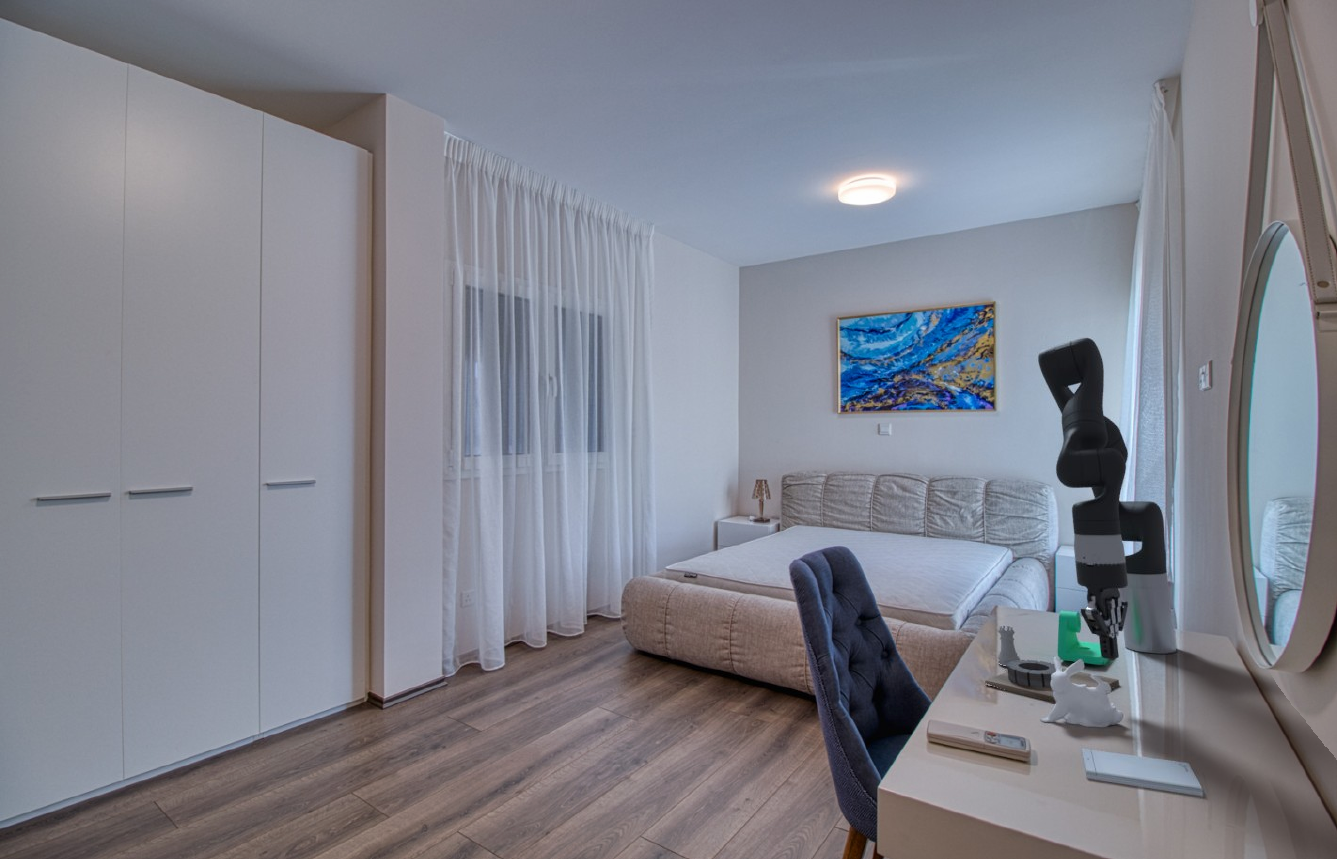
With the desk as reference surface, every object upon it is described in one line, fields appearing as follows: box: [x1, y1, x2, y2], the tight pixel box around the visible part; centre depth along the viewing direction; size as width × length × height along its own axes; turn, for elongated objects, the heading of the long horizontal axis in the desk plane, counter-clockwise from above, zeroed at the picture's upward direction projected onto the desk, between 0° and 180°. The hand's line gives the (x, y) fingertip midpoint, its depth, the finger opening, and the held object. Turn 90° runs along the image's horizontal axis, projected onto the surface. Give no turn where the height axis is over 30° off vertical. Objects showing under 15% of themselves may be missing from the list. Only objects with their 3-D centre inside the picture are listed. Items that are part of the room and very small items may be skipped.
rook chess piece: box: [997, 625, 1021, 666], centre depth 135 cm, size 4×4×8 cm
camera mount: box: [1057, 610, 1110, 666], centre depth 136 cm, size 12×8×10 cm, turn 136°
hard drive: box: [1081, 748, 1204, 797], centre depth 85 cm, size 2×8×12 cm
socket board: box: [984, 659, 1120, 704], centre depth 121 cm, size 18×16×4 cm
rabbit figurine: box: [1039, 655, 1124, 728], centre depth 105 cm, size 12×8×10 cm, turn 63°
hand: (1110, 657), depth 111 cm, fingers closed
